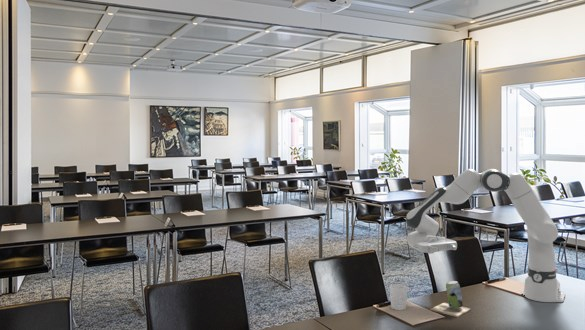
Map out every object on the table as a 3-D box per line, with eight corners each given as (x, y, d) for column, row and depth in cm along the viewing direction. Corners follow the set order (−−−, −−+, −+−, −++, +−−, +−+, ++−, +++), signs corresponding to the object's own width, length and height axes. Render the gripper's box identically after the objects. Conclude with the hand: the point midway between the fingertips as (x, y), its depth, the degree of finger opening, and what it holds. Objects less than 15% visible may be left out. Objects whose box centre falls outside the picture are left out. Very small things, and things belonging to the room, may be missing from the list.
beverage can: (464, 310, 215) (464, 283, 214) (448, 310, 215) (448, 283, 215) (460, 305, 221) (460, 279, 221) (444, 305, 221) (444, 279, 221)
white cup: (408, 306, 222) (408, 285, 222) (405, 311, 215) (405, 289, 215) (391, 304, 225) (391, 283, 225) (387, 309, 218) (387, 287, 218)
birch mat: (444, 303, 226) (444, 302, 226) (470, 310, 216) (470, 308, 216) (430, 310, 216) (430, 309, 216) (457, 317, 207) (457, 315, 207)
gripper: (411, 239, 235) (427, 244, 222) (446, 236, 242) (464, 240, 229) (411, 252, 235) (427, 257, 222) (446, 248, 242) (464, 253, 229)
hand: (446, 249), depth 226 cm, fingers open, 8 cm apart
